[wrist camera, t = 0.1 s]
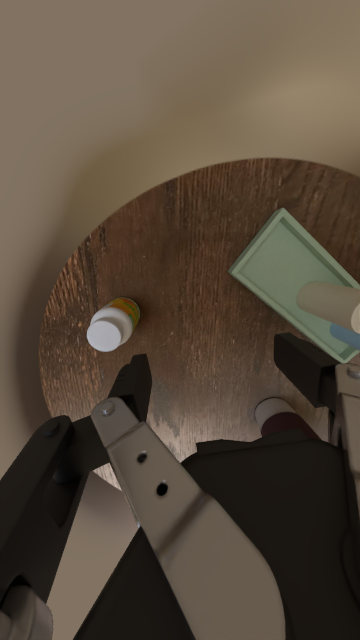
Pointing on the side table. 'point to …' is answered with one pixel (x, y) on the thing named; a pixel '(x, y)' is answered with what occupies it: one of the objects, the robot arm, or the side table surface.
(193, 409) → the side table surface
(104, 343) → the supplement bottle
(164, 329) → the side table surface
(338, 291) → the beige upright cylinder
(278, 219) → the tray
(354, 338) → the blue cylinder
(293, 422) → the coffee cup
